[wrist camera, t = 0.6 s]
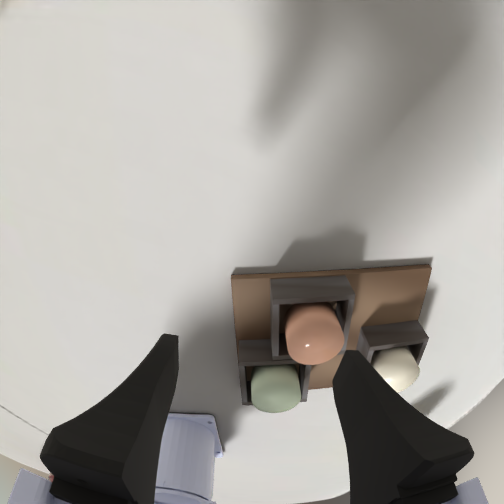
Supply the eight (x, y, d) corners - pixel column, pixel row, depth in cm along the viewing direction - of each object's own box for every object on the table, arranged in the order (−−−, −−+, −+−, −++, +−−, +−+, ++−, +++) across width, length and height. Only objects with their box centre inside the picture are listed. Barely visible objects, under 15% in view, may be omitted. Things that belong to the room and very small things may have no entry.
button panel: (396, 372, 27) (406, 395, 24) (241, 388, 27) (241, 414, 24) (428, 264, 22) (447, 284, 19) (231, 274, 22) (229, 299, 19)
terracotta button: (332, 337, 22) (340, 362, 19) (283, 340, 22) (286, 366, 19) (337, 296, 20) (348, 319, 18) (284, 299, 20) (288, 324, 18)
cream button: (401, 368, 24) (412, 389, 21) (364, 375, 24) (373, 397, 21) (412, 338, 22) (425, 359, 20) (373, 344, 22) (383, 367, 20)
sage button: (295, 386, 24) (299, 411, 22) (252, 389, 24) (252, 413, 22) (298, 356, 22) (303, 382, 20) (250, 359, 22) (250, 385, 20)
